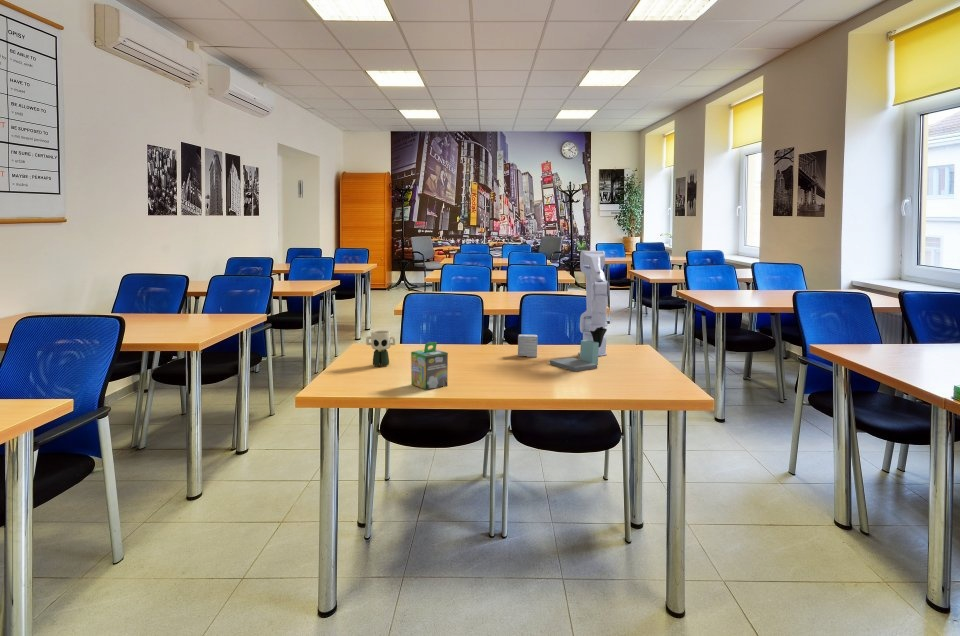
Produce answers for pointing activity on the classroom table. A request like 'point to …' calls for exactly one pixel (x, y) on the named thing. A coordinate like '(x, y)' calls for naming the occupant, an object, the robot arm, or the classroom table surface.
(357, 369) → the classroom table surface
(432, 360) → the chalk box
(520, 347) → the medicine box
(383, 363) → the character mug
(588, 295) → the robot arm
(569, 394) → the classroom table surface
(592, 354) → the teal slab
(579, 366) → the rubber pad
